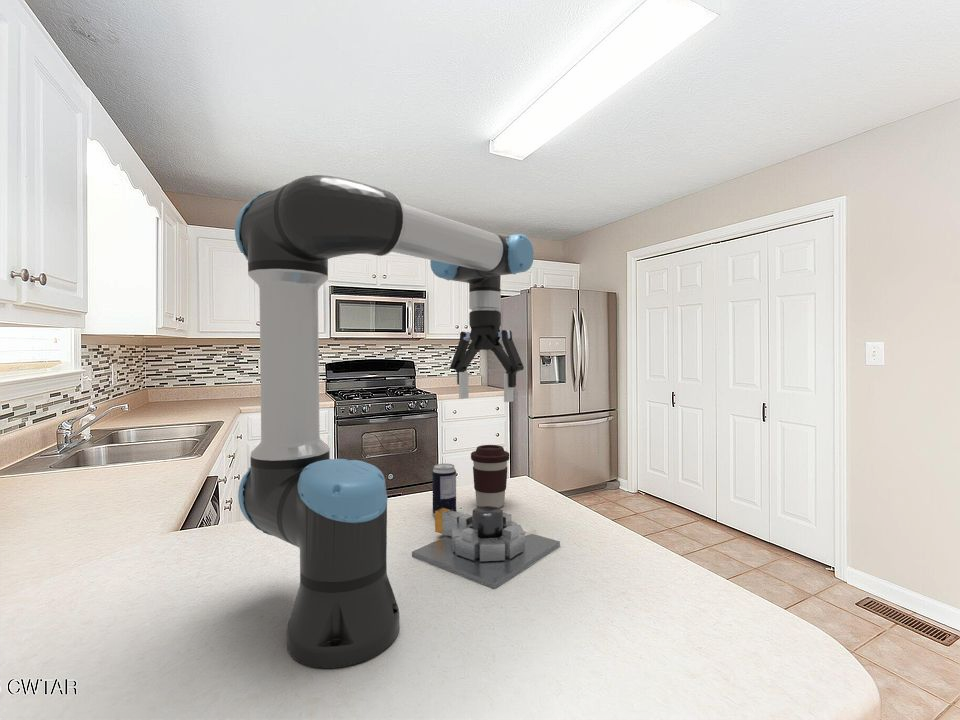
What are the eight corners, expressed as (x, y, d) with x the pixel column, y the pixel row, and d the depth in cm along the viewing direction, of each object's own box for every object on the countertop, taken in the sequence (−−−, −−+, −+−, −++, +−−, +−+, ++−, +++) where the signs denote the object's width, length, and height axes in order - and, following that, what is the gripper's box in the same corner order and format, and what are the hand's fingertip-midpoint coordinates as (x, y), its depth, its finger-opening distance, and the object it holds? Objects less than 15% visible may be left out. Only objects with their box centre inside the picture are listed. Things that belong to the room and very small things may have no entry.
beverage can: (457, 511, 117) (457, 463, 117) (454, 519, 111) (454, 469, 111) (435, 511, 118) (434, 462, 117) (430, 519, 112) (430, 468, 112)
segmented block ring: (494, 568, 84) (494, 542, 84) (415, 540, 96) (415, 517, 96) (536, 543, 95) (536, 520, 95) (460, 521, 107) (460, 500, 107)
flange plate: (494, 588, 79) (494, 541, 79) (401, 552, 93) (401, 512, 93) (564, 543, 97) (564, 504, 97) (477, 519, 112) (477, 485, 111)
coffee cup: (465, 502, 125) (464, 445, 124) (498, 497, 129) (498, 442, 128) (481, 513, 116) (480, 452, 115) (516, 507, 120) (516, 448, 119)
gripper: (538, 308, 107) (538, 401, 108) (456, 314, 123) (456, 395, 123) (519, 306, 102) (520, 404, 102) (436, 312, 117) (436, 398, 118)
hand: (485, 400), depth 113 cm, fingers open, 13 cm apart
